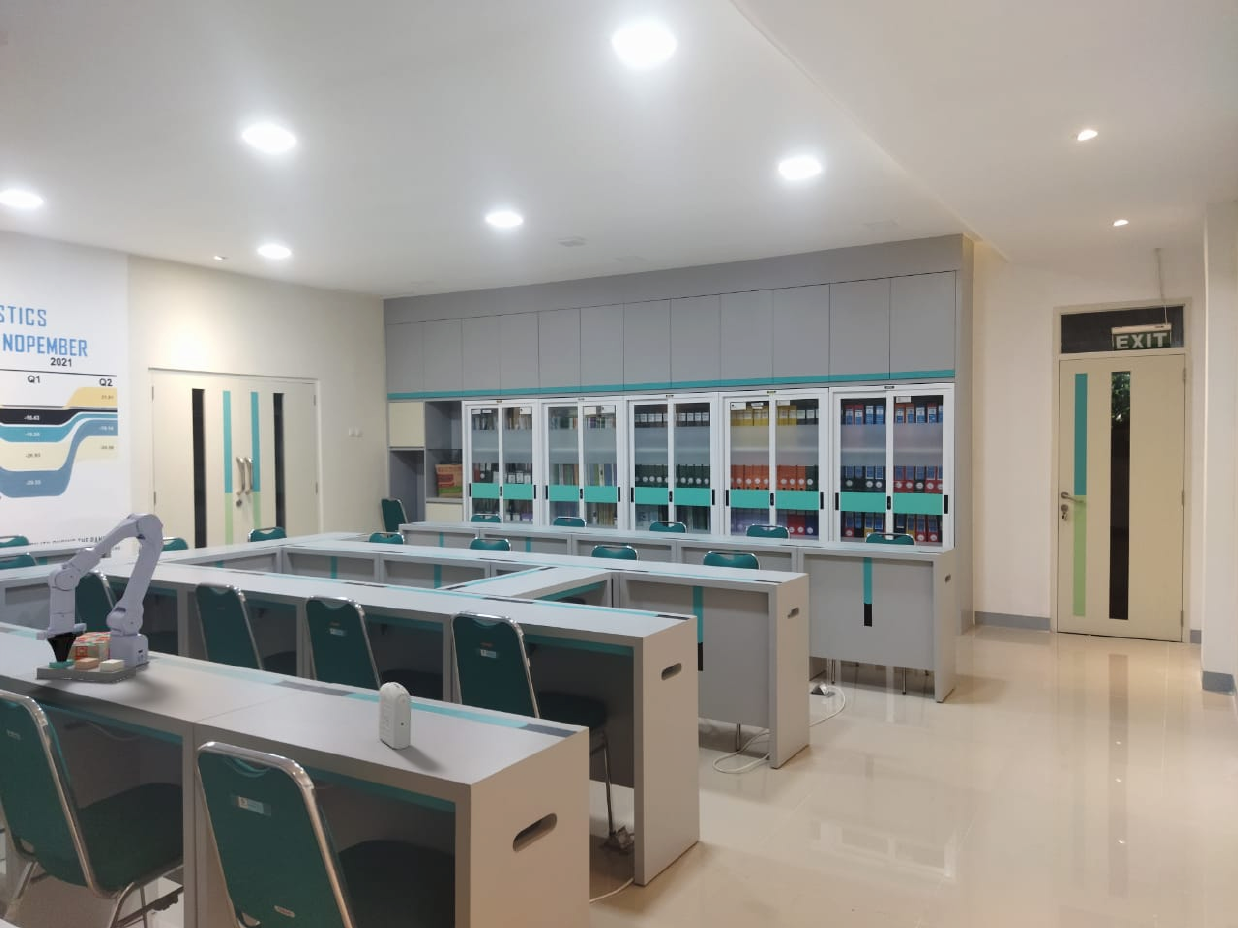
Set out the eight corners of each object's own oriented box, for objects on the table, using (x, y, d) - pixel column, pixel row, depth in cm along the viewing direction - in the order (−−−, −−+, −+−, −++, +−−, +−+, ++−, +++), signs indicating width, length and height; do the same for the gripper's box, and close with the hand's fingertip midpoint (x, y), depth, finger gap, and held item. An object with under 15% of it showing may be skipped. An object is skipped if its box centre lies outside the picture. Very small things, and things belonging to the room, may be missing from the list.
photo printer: (413, 747, 175) (414, 687, 175) (393, 751, 172) (394, 690, 172) (395, 734, 183) (396, 677, 183) (376, 737, 180) (376, 679, 181)
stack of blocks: (62, 668, 240) (111, 665, 243) (62, 646, 240) (111, 643, 243) (87, 652, 260) (131, 650, 264) (87, 632, 260) (131, 630, 264)
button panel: (135, 675, 232) (135, 666, 232) (113, 682, 225) (113, 672, 225) (61, 670, 237) (61, 661, 237) (36, 677, 229) (36, 668, 229)
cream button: (123, 672, 231) (124, 659, 231) (112, 676, 227) (112, 663, 227) (111, 671, 232) (111, 659, 232) (99, 675, 228) (99, 662, 228)
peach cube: (98, 671, 232) (98, 658, 232) (87, 674, 228) (87, 661, 228) (86, 670, 233) (86, 657, 233) (74, 673, 229) (74, 660, 229)
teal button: (73, 672, 234) (74, 659, 234) (61, 675, 230) (61, 663, 230) (61, 671, 235) (61, 659, 235) (49, 675, 231) (49, 662, 231)
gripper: (71, 607, 240) (71, 654, 240) (27, 615, 226) (26, 666, 226) (93, 608, 239) (92, 656, 239) (49, 616, 225) (48, 667, 225)
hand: (61, 661), depth 232 cm, fingers closed, pressing on teal button
